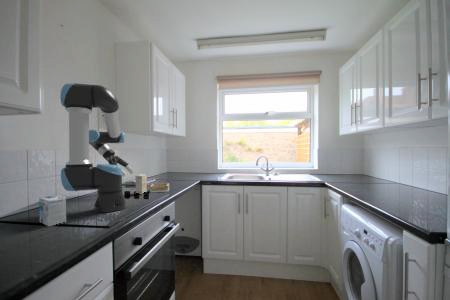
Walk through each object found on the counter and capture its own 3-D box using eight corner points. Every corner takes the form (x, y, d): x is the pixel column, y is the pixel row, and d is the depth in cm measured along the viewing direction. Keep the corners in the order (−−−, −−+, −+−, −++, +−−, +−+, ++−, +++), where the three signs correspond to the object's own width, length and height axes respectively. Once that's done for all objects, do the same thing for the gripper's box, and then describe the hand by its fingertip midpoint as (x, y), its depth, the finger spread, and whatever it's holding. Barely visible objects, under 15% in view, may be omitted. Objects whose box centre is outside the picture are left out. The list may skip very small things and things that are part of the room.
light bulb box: (39, 222, 101) (38, 197, 101) (57, 218, 107) (56, 194, 106) (48, 226, 95) (48, 200, 95) (67, 222, 101) (66, 197, 100)
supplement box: (140, 192, 164) (139, 174, 164) (147, 192, 164) (146, 173, 163) (135, 195, 156) (135, 175, 155) (142, 195, 155) (142, 175, 155)
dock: (168, 191, 165) (167, 185, 165) (149, 192, 163) (149, 186, 163) (169, 188, 177) (169, 183, 177) (152, 189, 175) (152, 183, 175)
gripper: (111, 155, 172) (132, 175, 173) (92, 157, 148) (116, 180, 148) (118, 148, 172) (139, 168, 173) (100, 148, 147) (124, 172, 148)
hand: (128, 174), depth 160 cm, fingers open, 13 cm apart
